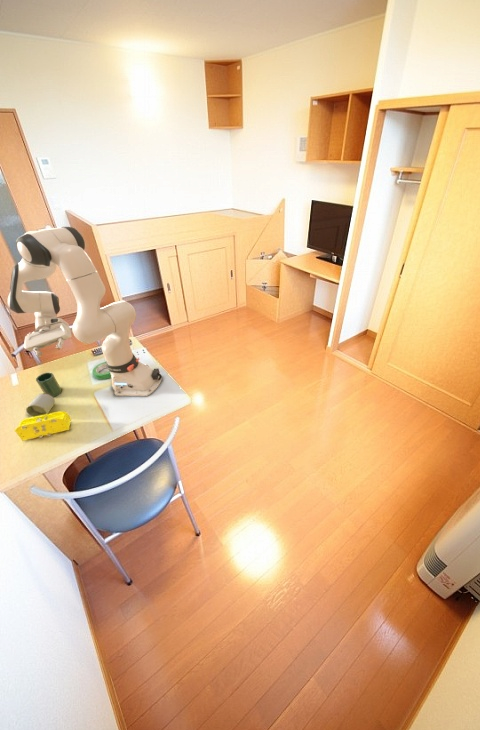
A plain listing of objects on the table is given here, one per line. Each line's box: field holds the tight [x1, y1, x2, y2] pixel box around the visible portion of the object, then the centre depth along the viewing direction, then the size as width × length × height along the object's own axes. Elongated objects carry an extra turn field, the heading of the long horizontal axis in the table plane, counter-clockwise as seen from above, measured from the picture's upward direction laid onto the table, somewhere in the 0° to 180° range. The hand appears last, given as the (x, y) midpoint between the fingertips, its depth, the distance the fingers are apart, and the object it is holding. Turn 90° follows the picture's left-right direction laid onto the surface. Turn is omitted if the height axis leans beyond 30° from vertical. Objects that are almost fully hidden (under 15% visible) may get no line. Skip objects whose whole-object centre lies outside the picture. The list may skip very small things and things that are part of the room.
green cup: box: [35, 372, 62, 398], centre depth 131 cm, size 6×6×10 cm
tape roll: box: [92, 361, 111, 380], centre depth 145 cm, size 11×11×3 cm
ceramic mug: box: [25, 392, 56, 417], centre depth 122 cm, size 11×8×8 cm
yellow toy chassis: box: [14, 410, 72, 442], centre depth 114 cm, size 16×6×8 cm, turn 110°
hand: (49, 352), depth 134 cm, fingers open, 8 cm apart
